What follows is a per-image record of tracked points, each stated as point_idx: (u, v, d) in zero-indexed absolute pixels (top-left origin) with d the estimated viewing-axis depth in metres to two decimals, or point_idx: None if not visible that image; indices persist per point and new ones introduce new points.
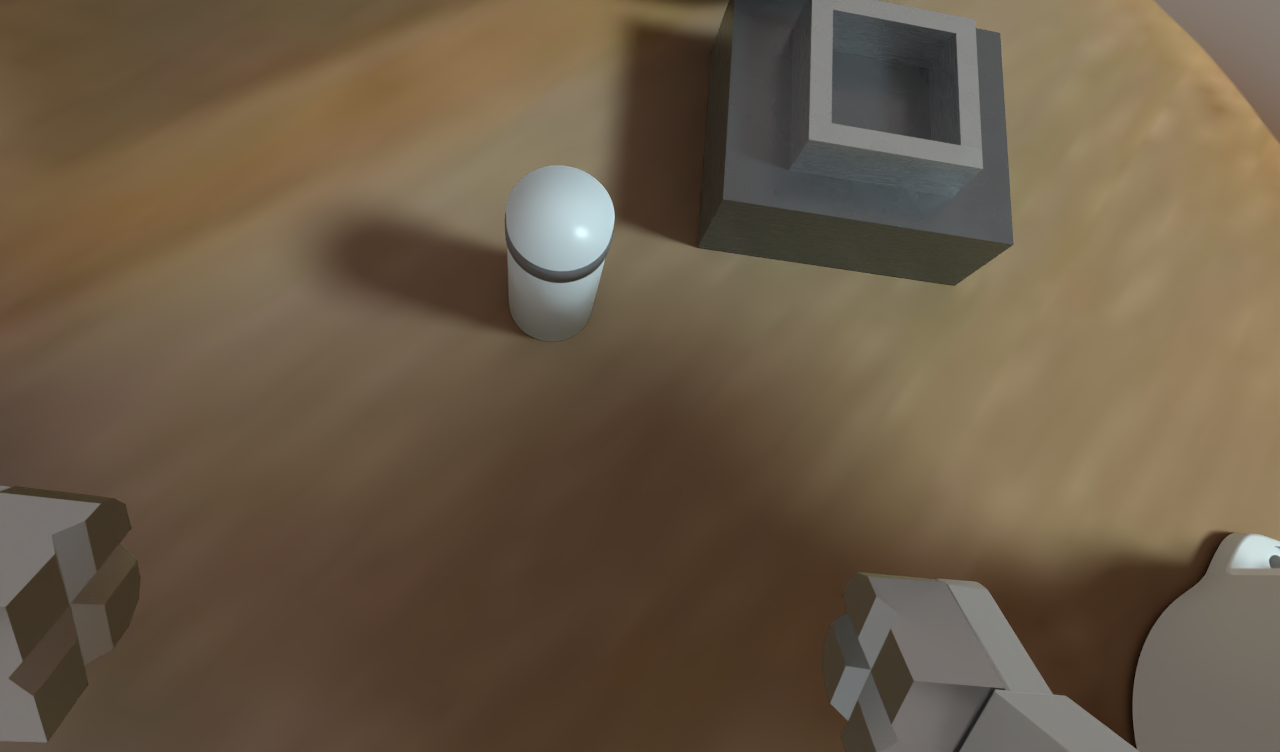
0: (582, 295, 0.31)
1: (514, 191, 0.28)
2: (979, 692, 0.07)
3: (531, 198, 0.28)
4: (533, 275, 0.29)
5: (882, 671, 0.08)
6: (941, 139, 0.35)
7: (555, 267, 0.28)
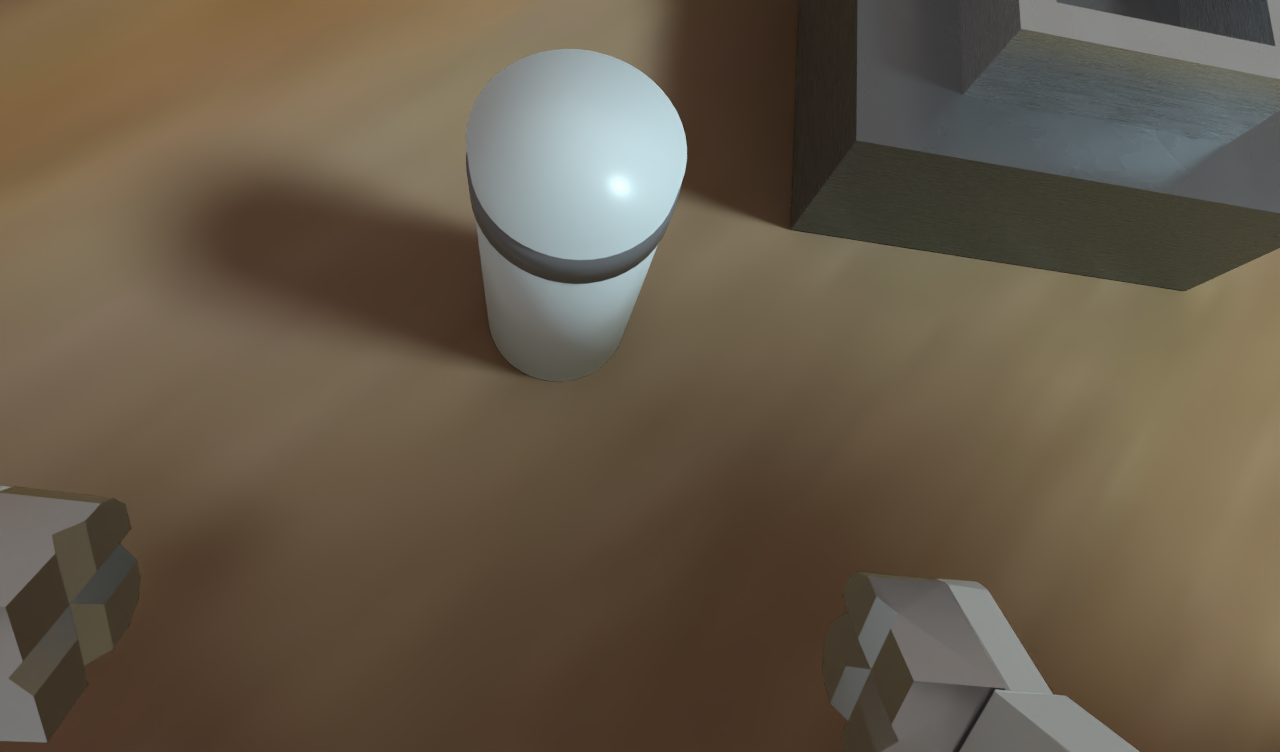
0: (615, 307, 0.17)
1: (484, 97, 0.14)
2: (979, 692, 0.07)
3: (518, 111, 0.14)
4: (523, 268, 0.15)
5: (882, 671, 0.08)
6: None
7: (567, 251, 0.14)
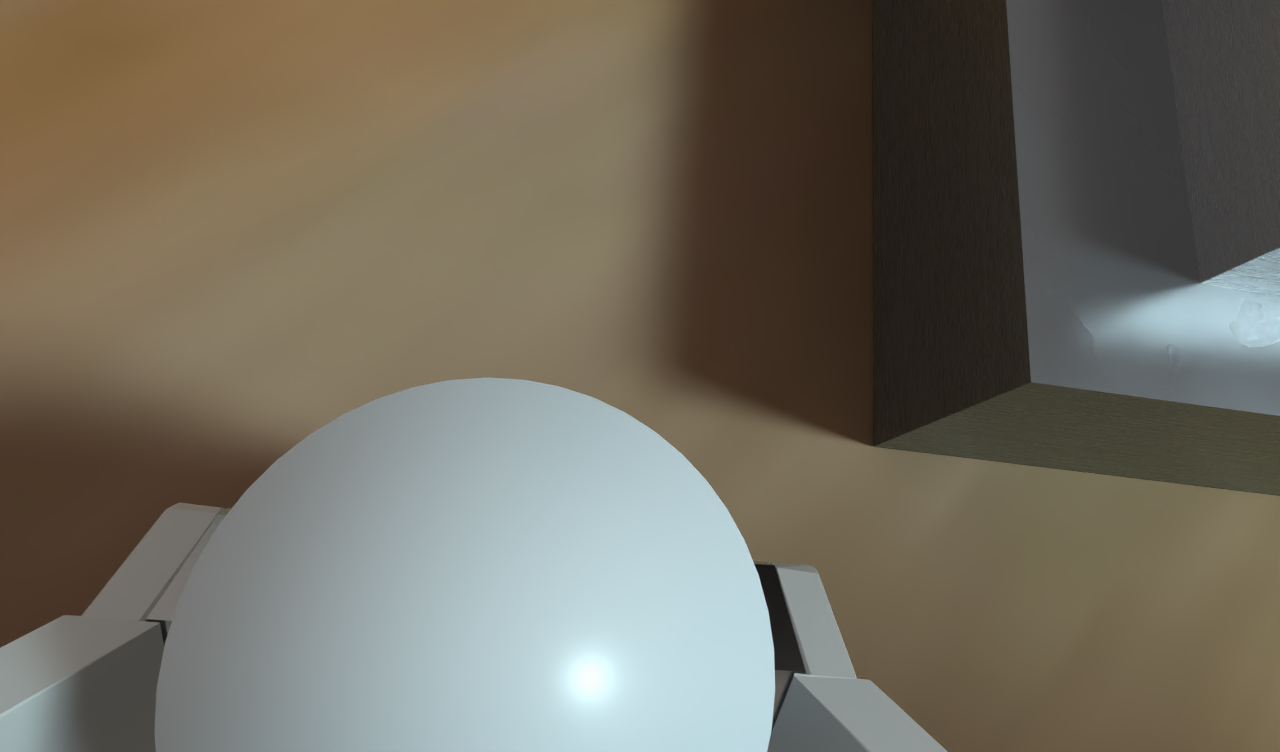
0: None
1: (224, 548, 0.05)
2: (780, 676, 0.07)
3: (318, 586, 0.05)
4: None
5: None
6: None
7: None
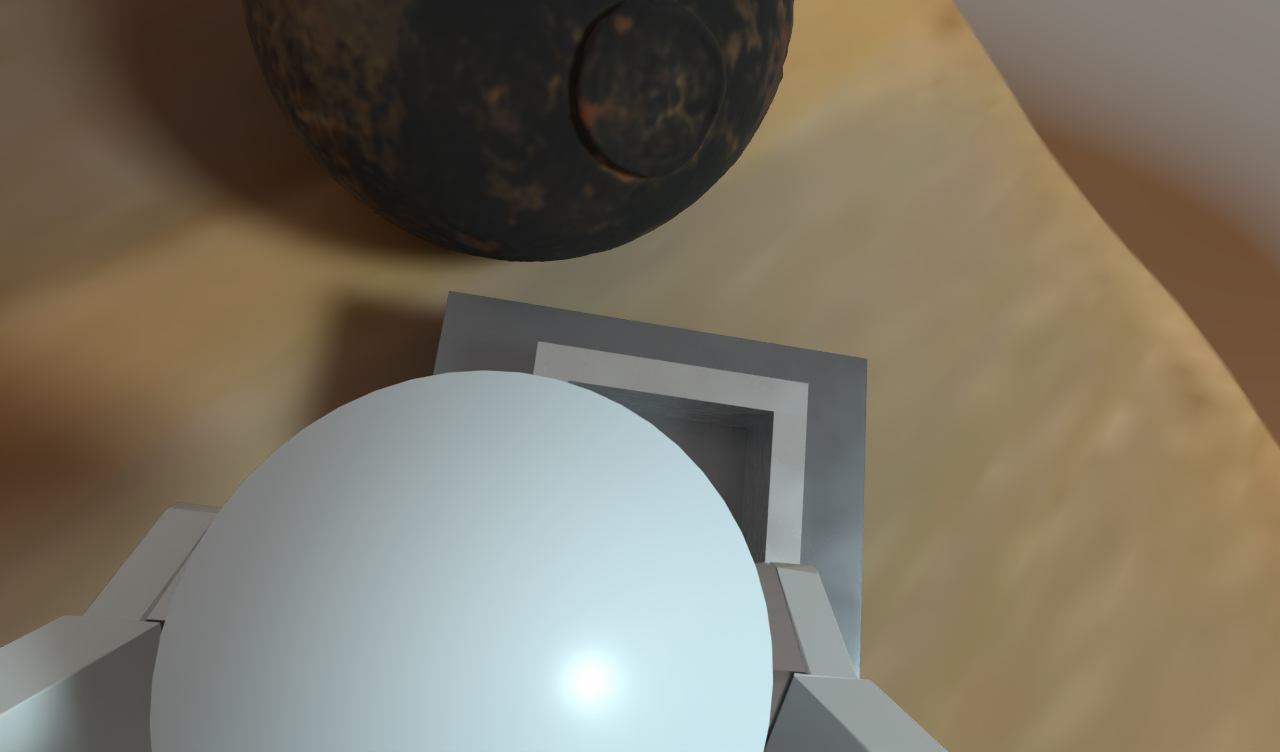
0: None
1: (219, 541, 0.05)
2: (780, 676, 0.07)
3: (313, 579, 0.05)
4: None
5: None
6: None
7: None
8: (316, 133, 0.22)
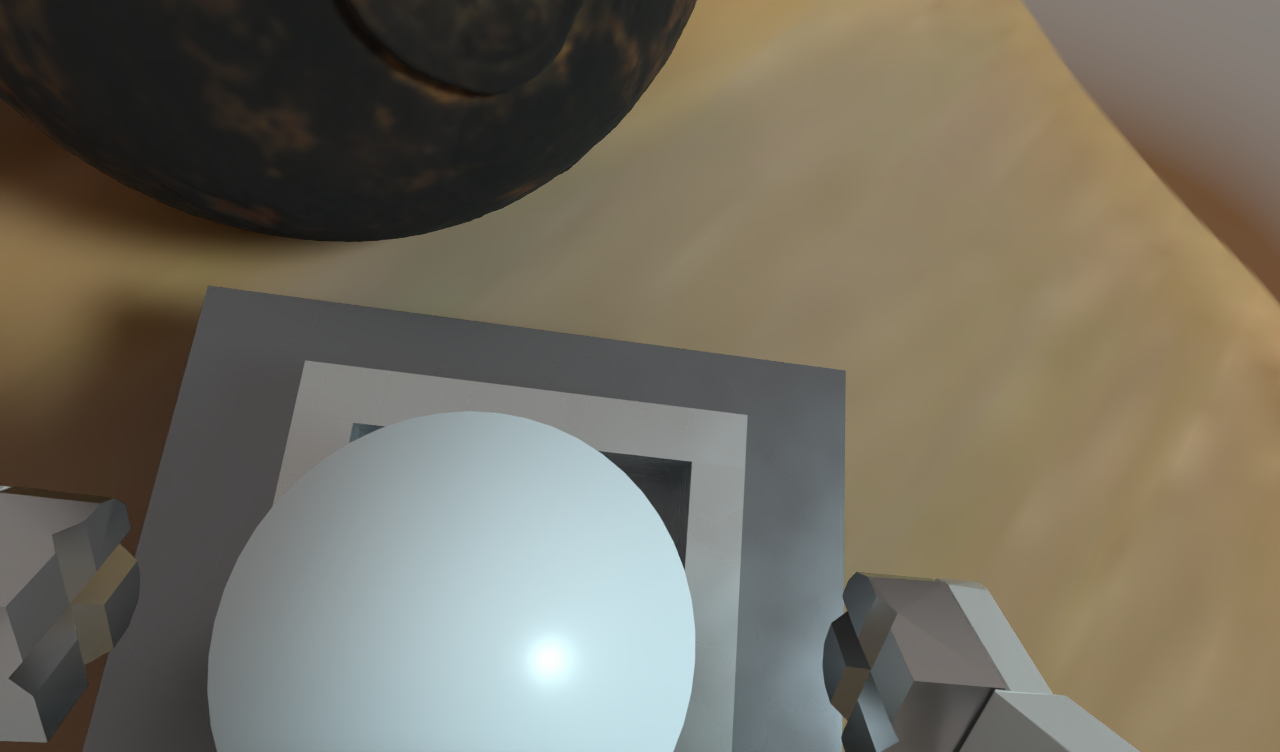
0: None
1: (259, 548, 0.06)
2: (978, 692, 0.07)
3: (332, 578, 0.06)
4: None
5: (882, 671, 0.08)
6: None
7: None
8: None
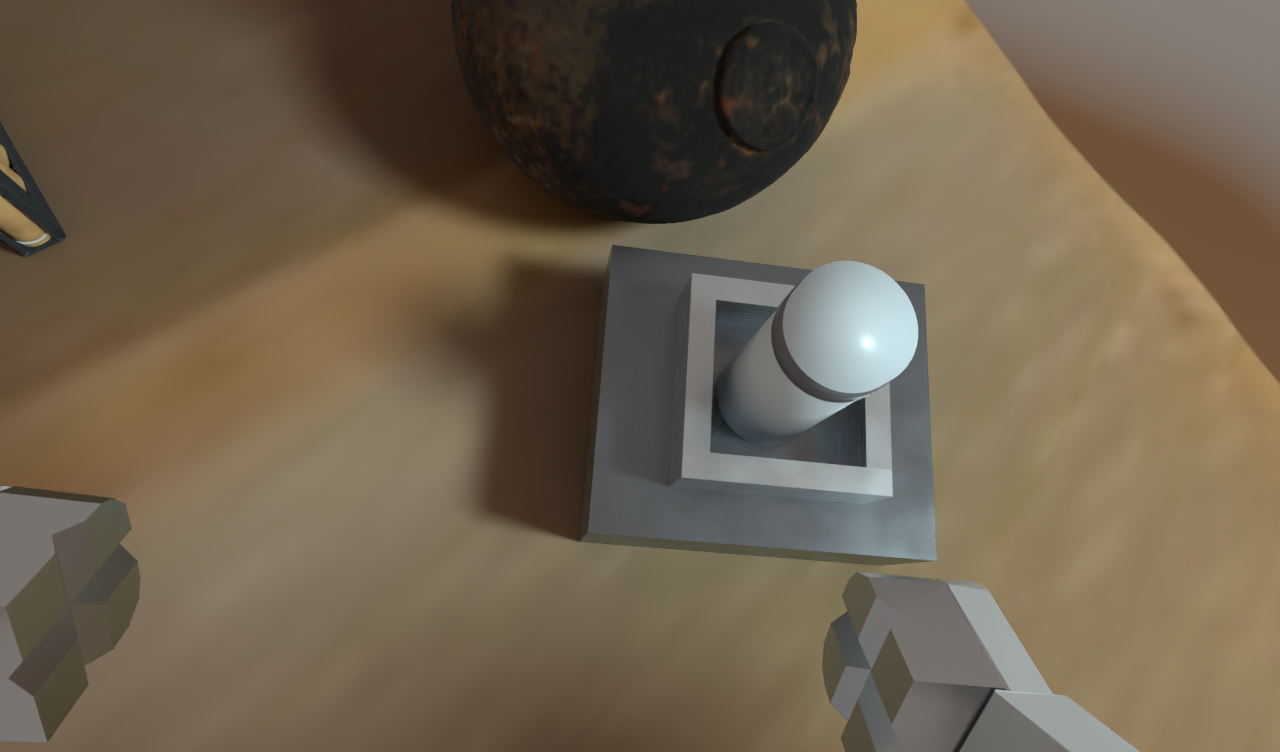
0: None
1: (797, 296, 0.23)
2: (979, 692, 0.07)
3: (818, 304, 0.23)
4: (810, 394, 0.24)
5: (883, 671, 0.08)
6: (849, 441, 0.30)
7: (852, 390, 0.22)
8: (523, 131, 0.30)
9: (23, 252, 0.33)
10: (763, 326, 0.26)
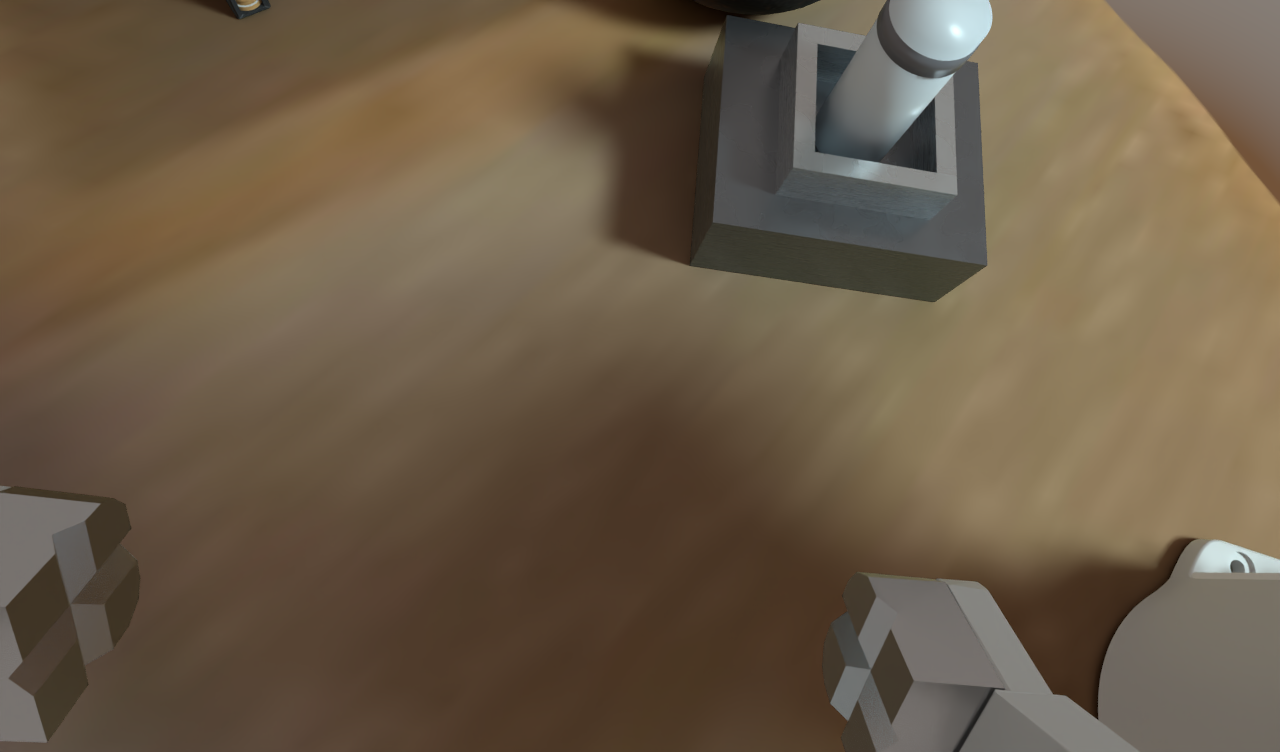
0: (926, 104, 0.33)
1: None
2: (979, 692, 0.07)
3: None
4: (906, 70, 0.31)
5: (881, 670, 0.08)
6: (920, 166, 0.37)
7: (942, 54, 0.30)
8: None
9: (239, 13, 0.40)
10: (864, 39, 0.33)
